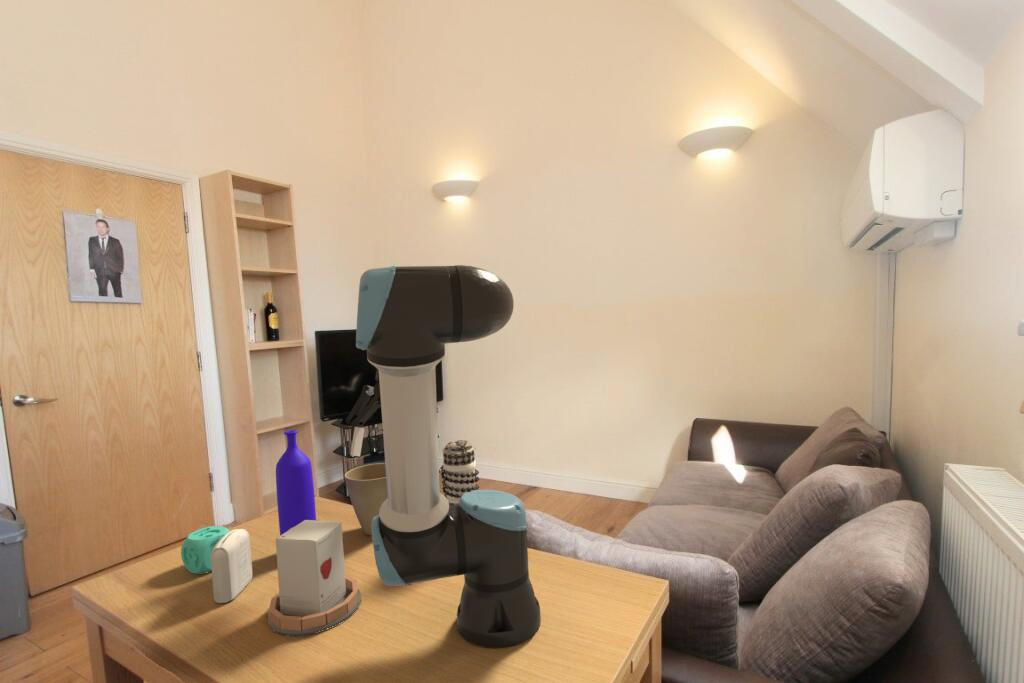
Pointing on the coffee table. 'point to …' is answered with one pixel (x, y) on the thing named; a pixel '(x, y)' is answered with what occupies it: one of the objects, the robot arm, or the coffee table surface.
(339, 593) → the supplement box
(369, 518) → the plant pot
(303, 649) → the coffee table surface
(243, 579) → the photo printer
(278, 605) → the ringed saucer
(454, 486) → the decorative candle
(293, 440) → the bottle
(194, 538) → the mint green rounded piece
